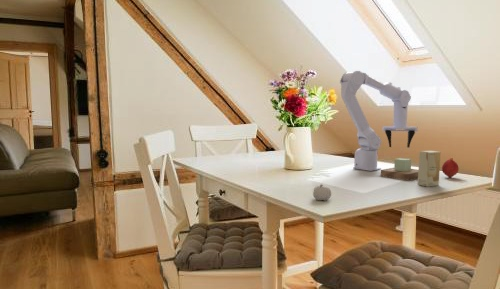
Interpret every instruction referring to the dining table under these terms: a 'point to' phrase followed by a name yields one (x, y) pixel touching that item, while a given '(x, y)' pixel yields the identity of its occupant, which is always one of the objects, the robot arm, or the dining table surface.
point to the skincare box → (429, 168)
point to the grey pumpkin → (322, 192)
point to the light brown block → (400, 174)
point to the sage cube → (402, 164)
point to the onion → (450, 168)
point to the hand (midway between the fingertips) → (399, 147)
